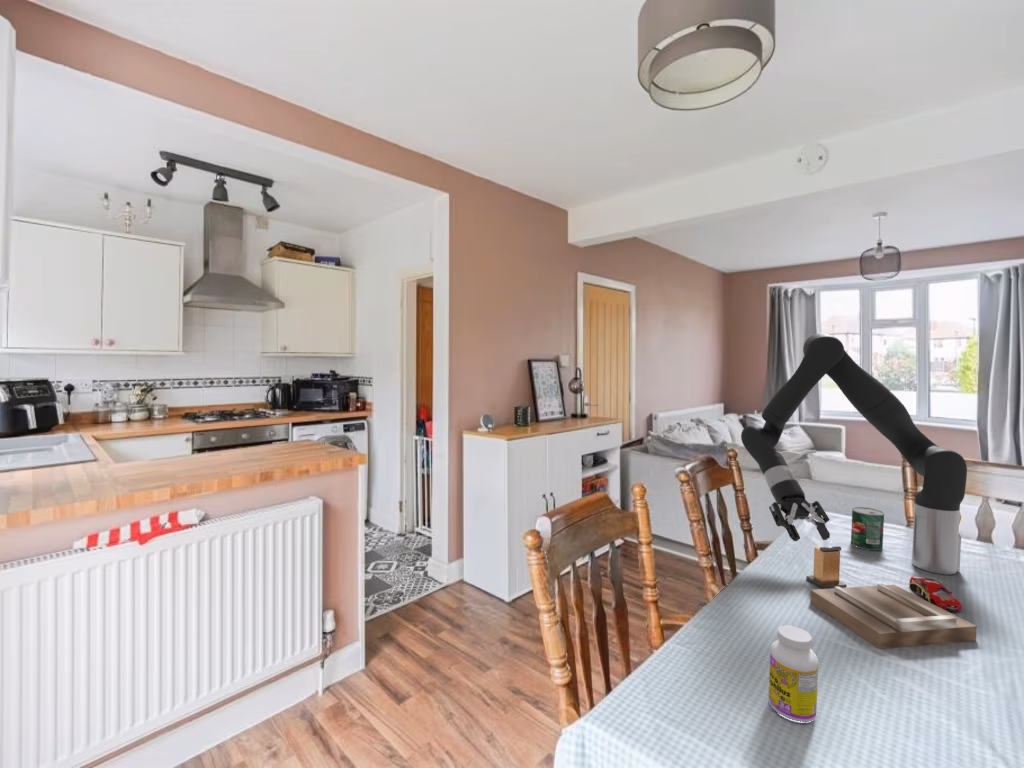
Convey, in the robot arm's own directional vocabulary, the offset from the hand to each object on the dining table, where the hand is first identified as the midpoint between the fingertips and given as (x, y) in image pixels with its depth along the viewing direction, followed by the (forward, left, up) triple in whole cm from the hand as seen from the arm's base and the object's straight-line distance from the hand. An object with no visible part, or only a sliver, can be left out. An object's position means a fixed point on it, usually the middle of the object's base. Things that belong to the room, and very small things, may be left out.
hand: (812, 539), depth 124 cm
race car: (-20, +15, -10) cm, 27 cm away
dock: (0, +22, -10) cm, 24 cm away
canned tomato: (-32, -16, -10) cm, 37 cm away
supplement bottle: (+40, +44, -10) cm, 60 cm away
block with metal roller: (0, +5, -10) cm, 11 cm away
